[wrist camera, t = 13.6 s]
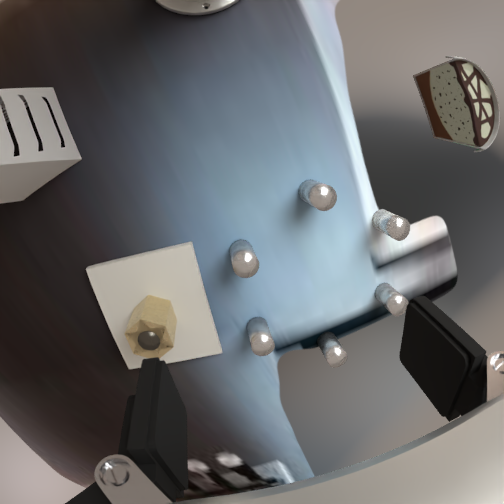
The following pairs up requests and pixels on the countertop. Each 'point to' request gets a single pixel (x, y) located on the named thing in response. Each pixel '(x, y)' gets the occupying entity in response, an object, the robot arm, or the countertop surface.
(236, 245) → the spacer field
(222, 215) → the countertop surface
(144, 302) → the faceted candle holder
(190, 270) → the mat
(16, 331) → the countertop surface
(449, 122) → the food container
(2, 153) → the grater
